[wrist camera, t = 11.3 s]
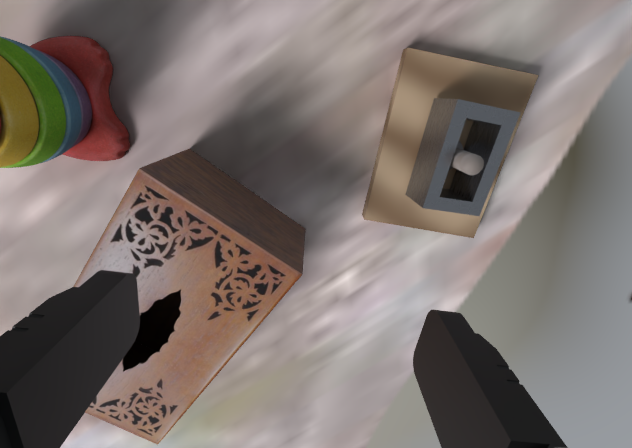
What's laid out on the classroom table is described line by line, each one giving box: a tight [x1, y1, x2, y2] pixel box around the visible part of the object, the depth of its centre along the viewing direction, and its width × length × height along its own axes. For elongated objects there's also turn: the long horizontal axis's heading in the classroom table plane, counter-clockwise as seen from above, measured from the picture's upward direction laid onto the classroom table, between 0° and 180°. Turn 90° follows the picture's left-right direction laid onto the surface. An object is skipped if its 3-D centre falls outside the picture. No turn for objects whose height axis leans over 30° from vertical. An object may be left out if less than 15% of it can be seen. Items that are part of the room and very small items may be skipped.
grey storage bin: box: [405, 98, 520, 216], centre depth 28 cm, size 9×6×4 cm, turn 170°
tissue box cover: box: [74, 149, 305, 444], centre depth 33 cm, size 26×14×10 cm, turn 143°
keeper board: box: [362, 48, 538, 238], centre depth 28 cm, size 16×12×8 cm
